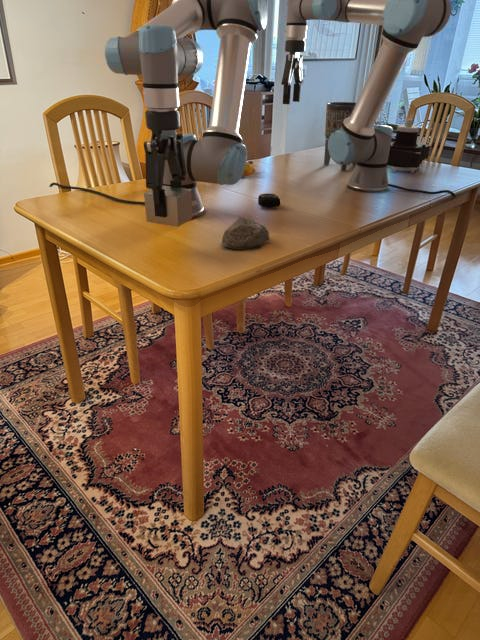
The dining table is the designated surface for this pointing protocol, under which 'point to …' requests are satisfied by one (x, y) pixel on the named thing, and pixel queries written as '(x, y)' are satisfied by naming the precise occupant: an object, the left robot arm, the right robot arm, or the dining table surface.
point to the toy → (249, 169)
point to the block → (170, 206)
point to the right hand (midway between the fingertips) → (291, 103)
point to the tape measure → (269, 200)
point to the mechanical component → (407, 149)
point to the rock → (245, 234)
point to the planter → (336, 123)
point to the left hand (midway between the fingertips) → (169, 211)
